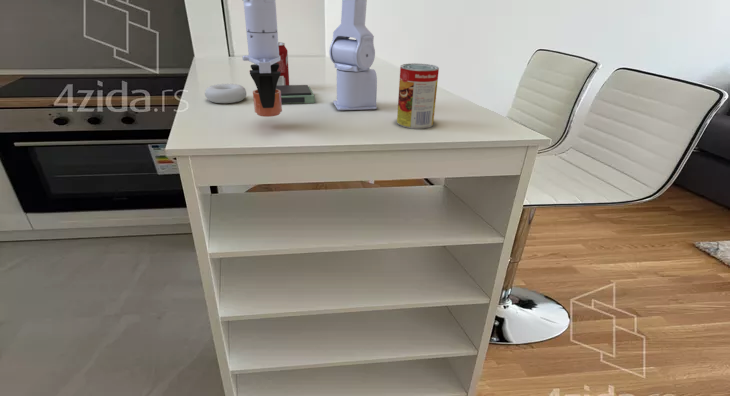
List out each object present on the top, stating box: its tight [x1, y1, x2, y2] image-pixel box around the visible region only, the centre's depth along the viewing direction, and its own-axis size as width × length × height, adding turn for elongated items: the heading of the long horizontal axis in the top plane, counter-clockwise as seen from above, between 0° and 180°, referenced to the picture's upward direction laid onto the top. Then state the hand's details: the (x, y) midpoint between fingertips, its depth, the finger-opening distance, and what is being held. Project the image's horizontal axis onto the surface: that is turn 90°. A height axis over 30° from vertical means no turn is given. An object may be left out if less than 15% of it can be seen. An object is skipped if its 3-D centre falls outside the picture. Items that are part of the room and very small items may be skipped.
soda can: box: [276, 41, 290, 85], centre depth 118 cm, size 7×7×12 cm
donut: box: [204, 83, 247, 104], centre depth 106 cm, size 10×4×10 cm
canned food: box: [396, 62, 440, 130], centre depth 89 cm, size 8×8×12 cm
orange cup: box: [252, 89, 283, 118], centre depth 85 cm, size 5×5×4 cm
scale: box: [276, 84, 316, 105], centre depth 109 cm, size 11×11×2 cm
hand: (267, 103), depth 85 cm, fingers closed on orange cup, 5 cm apart
